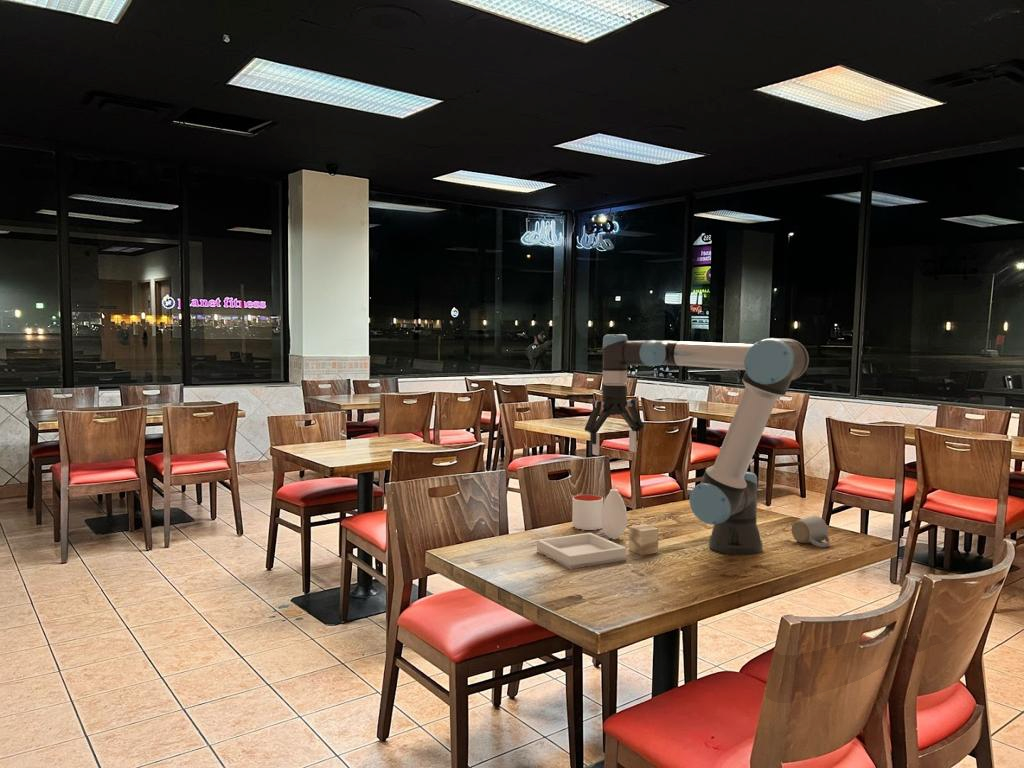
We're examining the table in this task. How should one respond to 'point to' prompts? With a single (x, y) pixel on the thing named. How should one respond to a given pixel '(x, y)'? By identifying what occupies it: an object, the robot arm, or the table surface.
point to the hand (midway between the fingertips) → (614, 453)
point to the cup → (587, 512)
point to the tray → (581, 550)
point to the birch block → (643, 539)
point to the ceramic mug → (811, 531)
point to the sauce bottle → (614, 514)
